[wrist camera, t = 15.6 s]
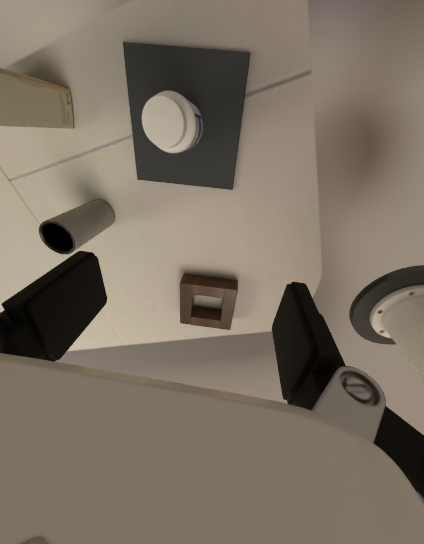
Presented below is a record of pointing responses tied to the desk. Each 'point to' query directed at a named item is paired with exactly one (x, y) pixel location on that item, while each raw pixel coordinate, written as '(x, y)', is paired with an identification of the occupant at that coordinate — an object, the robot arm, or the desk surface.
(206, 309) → the holder
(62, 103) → the cosmetic box
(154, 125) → the pill bottle
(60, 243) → the grey hollow tube
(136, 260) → the desk surface
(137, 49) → the mat
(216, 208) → the desk surface
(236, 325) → the desk surface
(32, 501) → the robot arm
